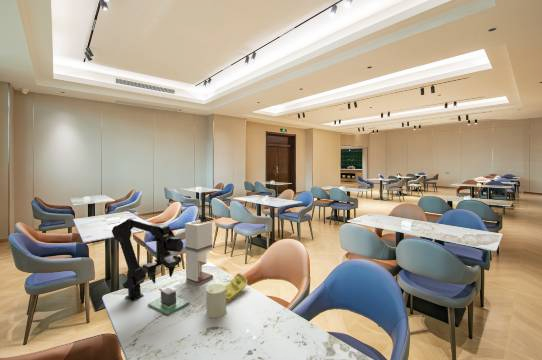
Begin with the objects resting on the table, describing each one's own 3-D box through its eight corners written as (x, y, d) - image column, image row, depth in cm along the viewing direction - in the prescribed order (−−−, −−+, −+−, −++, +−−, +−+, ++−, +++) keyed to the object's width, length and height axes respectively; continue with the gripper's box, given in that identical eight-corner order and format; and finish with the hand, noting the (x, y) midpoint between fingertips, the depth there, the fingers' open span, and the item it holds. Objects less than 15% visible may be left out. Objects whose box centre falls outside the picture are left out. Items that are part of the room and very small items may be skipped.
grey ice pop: (156, 300, 133) (155, 288, 133) (163, 297, 136) (162, 285, 136) (169, 306, 127) (168, 294, 127) (176, 302, 130) (175, 291, 130)
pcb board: (148, 305, 130) (147, 297, 130) (169, 295, 140) (168, 288, 140) (168, 315, 121) (167, 307, 121) (189, 303, 131) (188, 296, 131)
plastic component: (228, 299, 131) (213, 287, 135) (223, 310, 133) (210, 297, 137) (250, 281, 148) (237, 271, 152) (246, 291, 150) (233, 280, 154)
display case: (198, 285, 151) (197, 225, 149) (186, 281, 157) (184, 223, 155) (212, 278, 161) (211, 221, 159) (200, 274, 167) (199, 219, 165)
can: (202, 312, 123) (202, 287, 123) (218, 304, 130) (218, 281, 130) (214, 320, 117) (213, 294, 116) (230, 312, 124) (230, 287, 123)
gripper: (154, 258, 120) (154, 291, 121) (188, 248, 135) (188, 277, 136) (141, 253, 126) (141, 285, 127) (174, 244, 142) (174, 272, 143)
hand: (162, 279), depth 133 cm, fingers open, 9 cm apart
